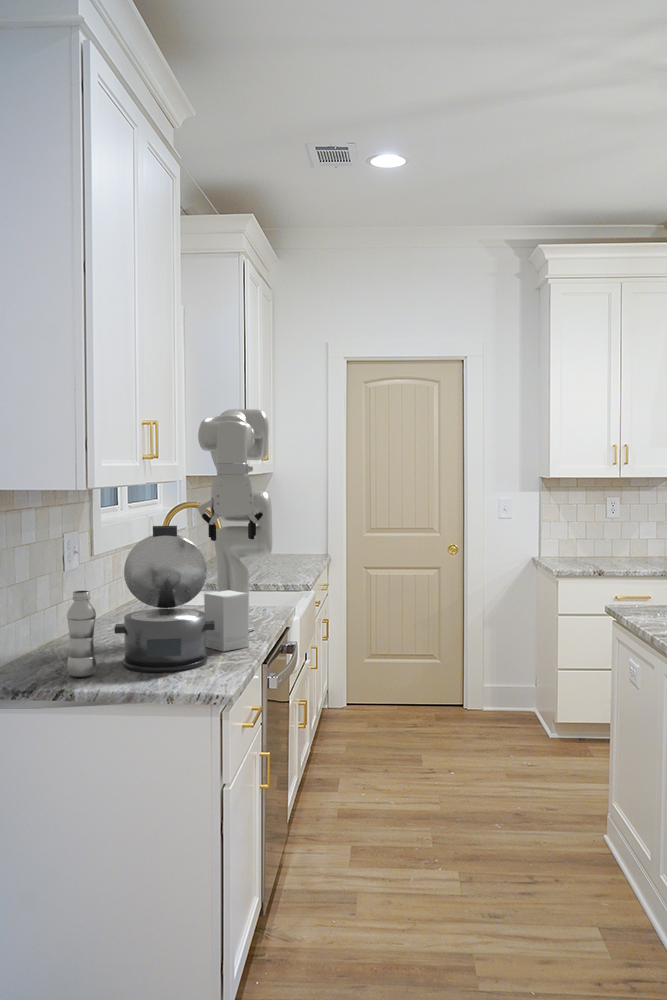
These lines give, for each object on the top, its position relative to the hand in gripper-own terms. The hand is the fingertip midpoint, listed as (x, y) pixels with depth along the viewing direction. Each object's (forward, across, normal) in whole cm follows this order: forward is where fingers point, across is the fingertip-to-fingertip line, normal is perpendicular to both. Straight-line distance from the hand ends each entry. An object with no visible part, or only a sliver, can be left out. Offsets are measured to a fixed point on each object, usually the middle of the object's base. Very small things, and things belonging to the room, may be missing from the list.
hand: (232, 539), depth 197 cm
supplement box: (+32, -3, -18) cm, 37 cm away
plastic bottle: (+31, +36, -1) cm, 48 cm away
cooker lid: (+8, +14, -13) cm, 21 cm away
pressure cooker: (+31, +16, -7) cm, 36 cm away
